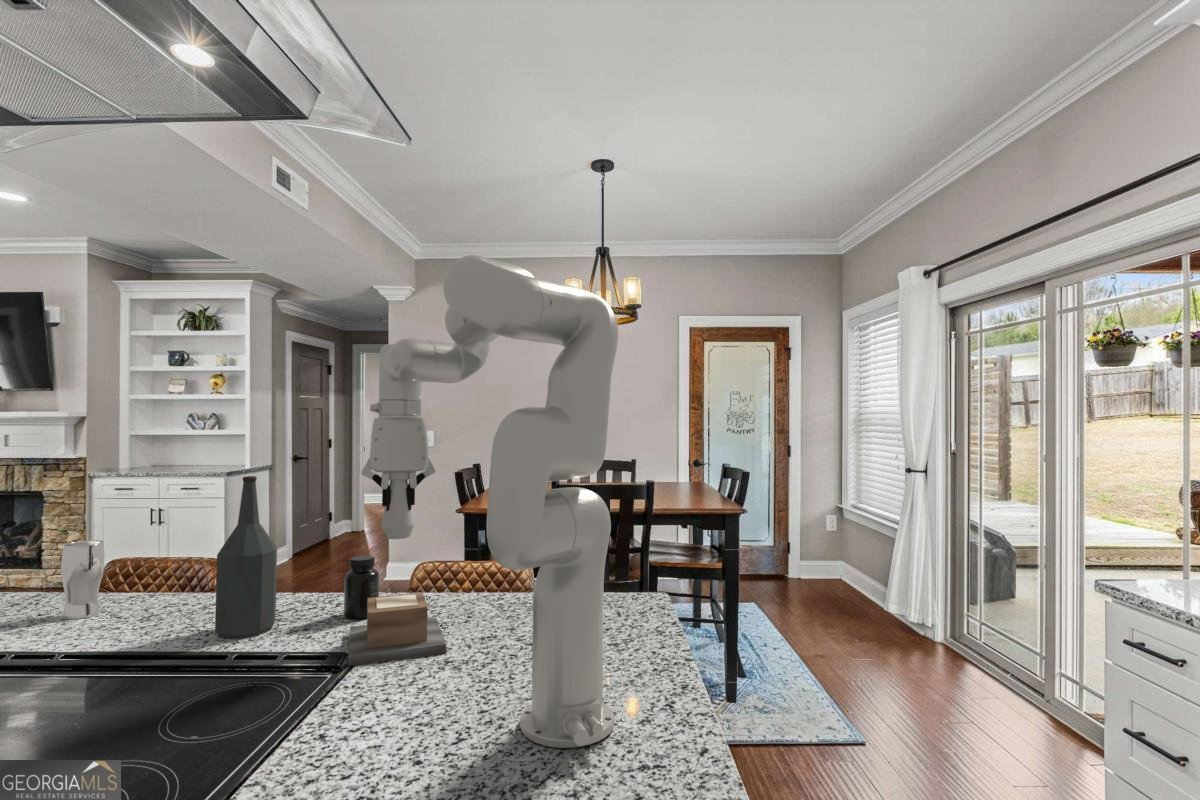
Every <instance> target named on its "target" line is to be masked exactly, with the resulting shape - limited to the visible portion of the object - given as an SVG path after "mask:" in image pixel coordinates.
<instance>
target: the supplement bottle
mask: <svg viewBox="0 0 1200 800" xmlns="http://www.w3.org/2000/svg"><path fill="white" fill-rule="evenodd" d="M375 560H376V559H375V556H372V555H358V556H355V557H350V560H349V569H350V570H349V571H347V573H346V574H345V575H344V589H343V591H344V592H343V594H344V596H343V616H344V617H345V619H346V620H349V621H361V620H367V601H368V598H370V597H380V573H379V570H377V569H376V568H374V567H375V566H376V563H375Z"/></svg>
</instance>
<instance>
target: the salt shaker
mask: <svg viewBox="0 0 1200 800" xmlns="http://www.w3.org/2000/svg"><path fill="white" fill-rule="evenodd" d="M408 484H409V472H390V474H389V486H390V490H391V502H390V507H389V511H386V506H384V509H383V510H384V511H383V514H382V515H383V516H382V520H381V524H380V525H381V530H382V531H383V533H384V535H385V537H386V539H387V540H400V539H401V540H402V539H407V538H409V537H410V536H411V534H412V532H413V529H414V527H415V517H414V512H413V507H412V506H413V505H411V510H409V509H408V504H407V489H408Z"/></svg>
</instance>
